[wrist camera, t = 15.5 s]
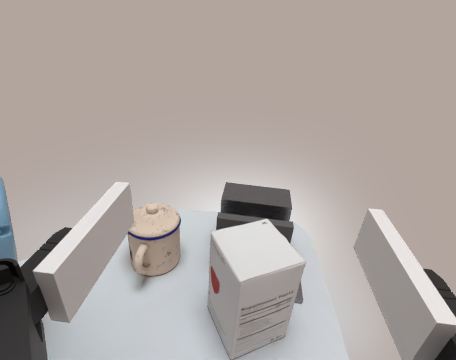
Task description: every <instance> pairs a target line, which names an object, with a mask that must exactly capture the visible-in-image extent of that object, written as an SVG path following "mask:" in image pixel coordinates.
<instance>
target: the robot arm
mask: <svg viewBox="0 0 456 360" xmlns="http://www.w3.org/2000/svg"><path fill="white" fill-rule="evenodd" d="M133 224H134V215H133V207H132V199H131V191H130V183H125V182H116V183H115V184H114V185H113V186H112V187H111V188H110V189H109V190H108V191H107V192H106V193H105V194H104V195H103V197H102V198H101V199H100V200H99V201H98V202H97V203H96V204H95V205H94V206H93V207H92V208H91V209H90V211H88V213H87V214H86V215H85V216H84V217H83V218H82V219H81V220H80V221H79V222H78V223H77V224H76V226H74V228H66V227H65V228H63V229H62V230H60V231H58V232H56V233H55V234H53V235H52V237H51V238H49V239H48V240H47V241H46V244H43V245H42V247H40V249H39V250H37V252H35V253H34V254H33V255H32V256H31V257H30V258H29V259H28V260H27V261H26V262H25V263H24V264H23V265H22V266H21V267H19V264H18V262H17V253H16V247H15V241H14V236H13V229H12V224H11V218H10V212H9V207H8V202H7V197H6V191H5V186H4V182H3V180H2V178H1V177H0V360H48V359H47V351H46V343H45V335H44V327H43V323H42V320H41V319H42V318H43V317H44V315H45V314H46V313H47V311H48V313H49V315H50V318H51V320H54V321H61V322H68V323H70V321H71V320H72V318H73V317H74V315H75V314H76V312H77V311H78V309H79V307H80V306H81V304H82V303H83V301H84V300H85V298H86V297H87V295H88V293H89V292H90V290H91V289H92V287H93V286H94V284H95V283H96V281H97V280H98V278H99V276H100V275H101V273H102V272H103V270H104V269H105V267H106V266H107V264H108V262H109V261H110V259H111V258H112V256H113V255H114V253H115V252H116V250H117V249H118V247H119V245H120V244H121V242H122V241H123V239H124V238H125V236H126V235H127V233H128V231H129V230H130V228H131V227H132V225H133ZM354 249H355V252H356V254H357V256H358V259H359V261H360V263H361V266H362V268H363V270H364V273H365V275H366V277H367V280H368V282H369V284H370V287H371V289H372V291H373V293H374V296H375V298H376V301H377V303H378V305H379V308H380V310H381V312H382V315H383V317H384V319H385V321H386V324H387V326H388V328H389V331H390V333H391V336H392V338H393V340H394V342H395V345H396V347H397V349H398V352H399V354H400V356H401V359H402V360H456V297H455V295H454V294H453V292H451V290H450V288H449V287H448V286H447V284H446V283H445V282H444V280H443V279H442V278H441V277H440V276H438V275H437V274H436V273H435V272H434V271H432V270H429V269H422V267H421V266H420V264H419V263H418V262H417V260H416V258H415V257H414V255H413V254H412V252H411V251H410V249H409V248H408V247H407V245H406V244H405V242H404V241H403V239H402V238H401V236H400V235H399V233H398V232H397V230H396V229H395V228H394V226H393V224H392V223H391V222H390V220H389V219H388V217H387V216H386V214H385V213H384V211H383V210H378V209H368V210H367V213H366V215H365V218H364V221H363V224H362V227H361V229H360V232H359V234H358V237H357V240H356V242H355V245H354Z"/></svg>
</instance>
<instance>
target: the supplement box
mask: <svg viewBox="0 0 456 360" xmlns="http://www.w3.org/2000/svg"><path fill="white" fill-rule="evenodd" d="M305 264H306V261H305V260H304V259H303V258H302V257H301V256H300V255H299V253H298V252H297V251H296V250H295V249H294V248H293V247H292V246H291V245H290V243H289V242H288V240H287V239H286V238H285V237H284V236H283V235H282V234H281V233H280V232H279V231H278V230H277V229H276V228H275V226H274V225H273V224H272V223H271V222H270V221H269V220H268V219H264V220H260V221H256V222H252V223H247V224H243V225H239V226H234V227H229V228H224V229H220V230H216V231H213V232H211V242H210V266H209V290H208V308H209V311H210V313H211V315H212V318H213V320H214V323H215V325H216V327H217V330H218V332H219V335H220V337H221V339H222V342H223V344H224V346H225V349H226V351H227V353H228V356H229V358H230V359H231V360H232V359H235V358H237V357H239V356H242V355H244V354H246V353H248V352H251V351H253V350H255V349H258V348H260V347H262V346H264V345H266V344H269V343H271V342H273V341H276V340H278V339H280V338H282V337H284V336H285V334H286V330H287V326H288V323H289V319H290V316H291V312H292V309H293V305H294V302H295V298H296V295H297V291H298V288H299V284H300V280H301V277H302V274H303V270H304V267H305Z"/></svg>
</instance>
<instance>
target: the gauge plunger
mask: <svg viewBox="0 0 456 360" xmlns="http://www.w3.org/2000/svg"><path fill="white" fill-rule="evenodd" d="M264 219H266V218H258V217H250V216H243V215H235V214H227V213H219V212H218V216H217V226H216V230H220V229H224V228H229V227H234V226H239V225H243V224H247V223H252V222H256V221H260V220H264ZM268 220H269V221H270V222H271V223H272V224H273V225H274V226H275V228H276V229H277V230H278V231H279V232H280V233H281V234H282V235H283V236H284V237H285V238H286V239H287V240H288V242H289V243H290V242H291V237H292V233H293V229H294V226H293V222H290V221H282V220H274V219H268Z"/></svg>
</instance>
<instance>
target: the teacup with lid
mask: <svg viewBox="0 0 456 360" xmlns="http://www.w3.org/2000/svg"><path fill="white" fill-rule="evenodd" d="M133 215H134V224H133V225H132V227H131V228H130V230H129V231H128V233H127V234H128V241H129V248H130V255H131V262H132V266H133V267H134V269H135V271H136V272H137V273H138V274H144V275H149V276H155V275H161V274H164V273H166V272H168V271H170V270H172V269H173V268H174V267H175V266H176V265H177V263H178V262H179V259H180V231H179V226H180V223H181V219H180V216H179V214H178V212H177V211H176V210H175V209H173V208H172V207H170V206H167V205H163V204H155V203H150V204H148V205H145V206H141V207H139V208H137V209H135V210H133Z"/></svg>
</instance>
